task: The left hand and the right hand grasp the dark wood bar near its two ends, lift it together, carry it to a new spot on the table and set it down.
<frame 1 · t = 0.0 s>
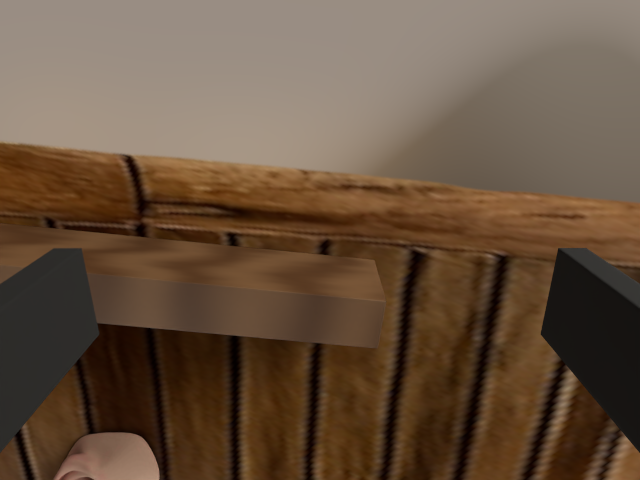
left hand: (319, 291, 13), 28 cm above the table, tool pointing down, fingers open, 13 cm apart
bar: (25, 247, 42), on the table
anatomical model: (109, 470, 52), on the table
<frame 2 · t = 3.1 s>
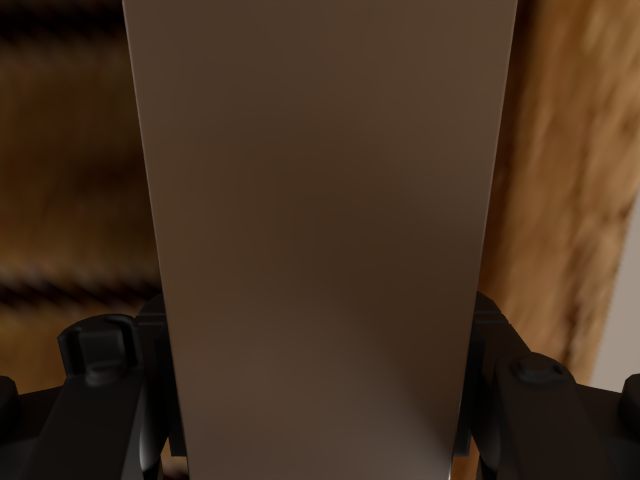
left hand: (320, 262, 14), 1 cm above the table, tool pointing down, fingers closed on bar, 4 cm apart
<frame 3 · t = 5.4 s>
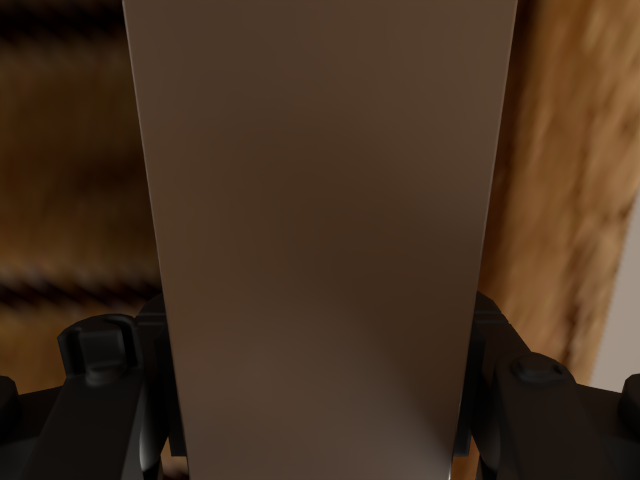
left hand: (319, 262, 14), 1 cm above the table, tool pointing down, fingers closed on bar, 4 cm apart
when the left hand's fingers open (2 cm above the table, at t = 9.7 s): bar drops 2 cm, on the table.
when the right hand's fingers open (2 cm above the table, at t = 9.7 s): bar drops 2 cm, on the table.
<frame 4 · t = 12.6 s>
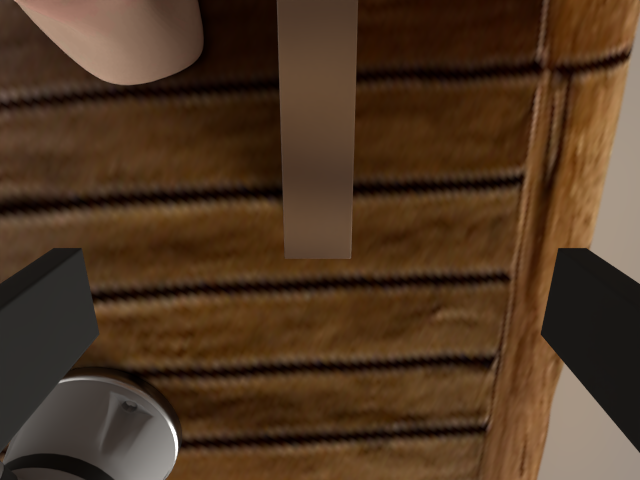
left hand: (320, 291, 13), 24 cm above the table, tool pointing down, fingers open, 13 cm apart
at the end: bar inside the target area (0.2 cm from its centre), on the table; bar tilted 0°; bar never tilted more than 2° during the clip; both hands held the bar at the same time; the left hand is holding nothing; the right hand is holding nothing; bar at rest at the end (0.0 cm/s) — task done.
